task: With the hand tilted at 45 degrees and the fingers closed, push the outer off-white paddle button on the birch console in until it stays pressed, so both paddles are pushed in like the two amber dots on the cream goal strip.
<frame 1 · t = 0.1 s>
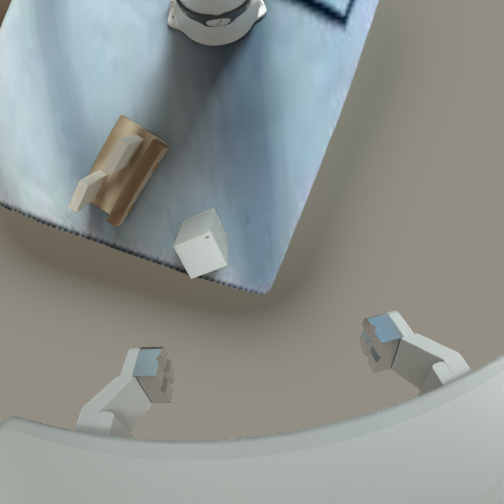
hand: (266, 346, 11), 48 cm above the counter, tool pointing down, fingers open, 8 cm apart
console: (122, 169, 52), on the counter
outer paddle: (88, 190, 47), point 6 cm above the counter, slide at 0.0 cm
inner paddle: (124, 153, 45), point 6 cm above the counter, slide at 3.0 cm
supplement box: (205, 227, 60), on the counter
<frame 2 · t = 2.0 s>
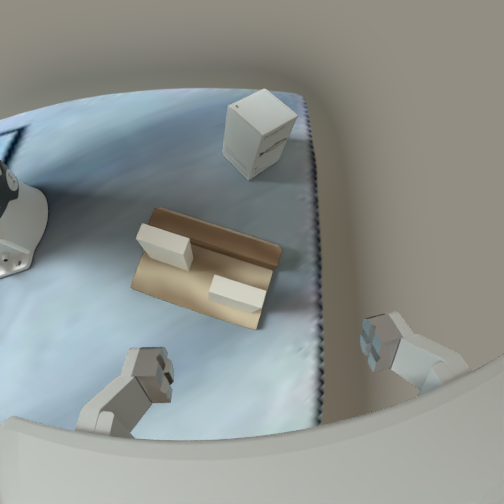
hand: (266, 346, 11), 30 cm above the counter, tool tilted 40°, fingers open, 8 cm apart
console: (204, 271, 42), on the counter
outer paddle: (234, 296, 36), point 6 cm above the counter, slide at 0.0 cm
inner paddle: (167, 249, 36), point 6 cm above the counter, slide at 3.0 cm
supplement box: (250, 158, 49), on the counter
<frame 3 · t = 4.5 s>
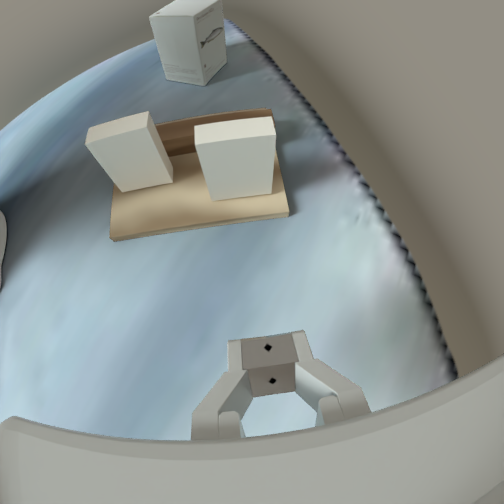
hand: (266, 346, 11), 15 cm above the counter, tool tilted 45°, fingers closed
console: (193, 180, 31), on the counter
outer paddle: (237, 163, 24), point 6 cm above the counter, slide at 0.0 cm
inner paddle: (132, 156, 25), point 6 cm above the counter, slide at 3.0 cm
supplement box: (197, 71, 38), on the counter
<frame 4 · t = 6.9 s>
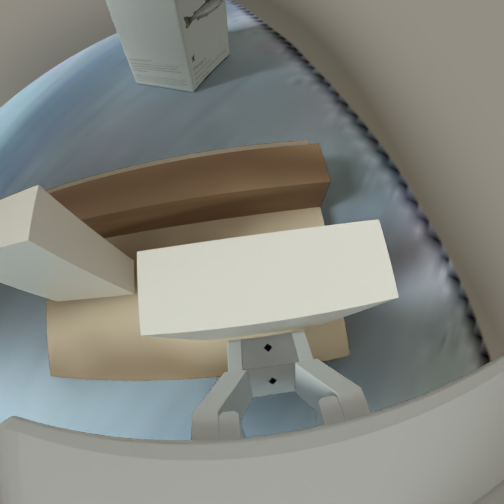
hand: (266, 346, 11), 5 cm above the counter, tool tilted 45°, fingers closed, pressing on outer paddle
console: (174, 279, 17), on the counter
outer paddle: (263, 303, 11), point 6 cm above the counter, slide at 0.1 cm, touching gripper
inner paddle: (48, 261, 11), point 6 cm above the counter, slide at 3.0 cm
supplement box: (184, 69, 24), on the counter
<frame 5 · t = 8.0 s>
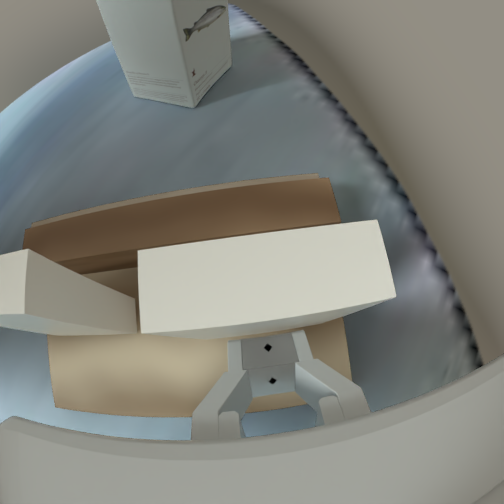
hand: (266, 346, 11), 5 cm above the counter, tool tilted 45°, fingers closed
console: (176, 316, 17), on the counter
outer paddle: (262, 302, 11), point 6 cm above the counter, slide at 2.4 cm
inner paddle: (46, 307, 11), point 6 cm above the counter, slide at 3.0 cm
supplement box: (184, 81, 23), on the counter
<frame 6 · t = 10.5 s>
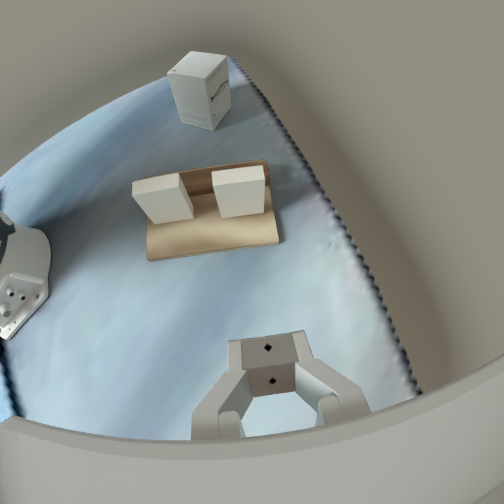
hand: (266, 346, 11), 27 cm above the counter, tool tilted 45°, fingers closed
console: (208, 215, 43), on the counter
outer paddle: (240, 194, 37), point 6 cm above the counter, slide at 2.4 cm
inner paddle: (165, 201, 37), point 6 cm above the counter, slide at 3.0 cm
supplement box: (207, 115, 49), on the counter
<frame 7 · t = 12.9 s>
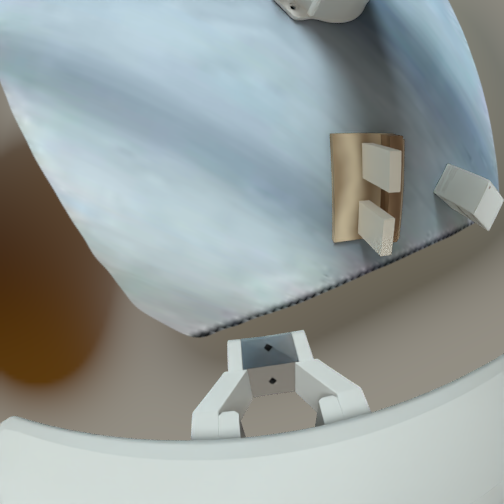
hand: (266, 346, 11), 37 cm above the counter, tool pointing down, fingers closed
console: (363, 186, 47), on the counter
outer paddle: (374, 226, 43), point 6 cm above the counter, slide at 2.4 cm
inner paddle: (380, 165, 39), point 6 cm above the counter, slide at 3.0 cm
supplement box: (448, 185, 48), on the counter
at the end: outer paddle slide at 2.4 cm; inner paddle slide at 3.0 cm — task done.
